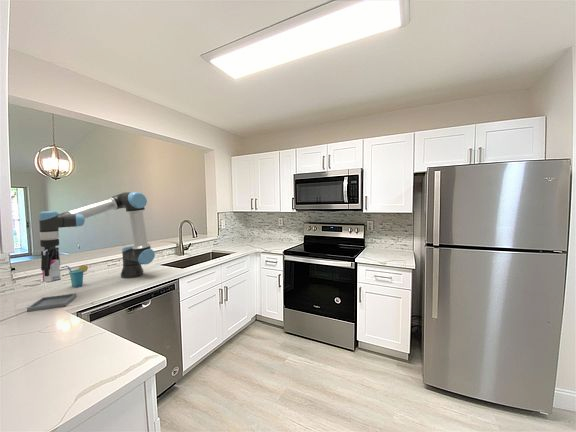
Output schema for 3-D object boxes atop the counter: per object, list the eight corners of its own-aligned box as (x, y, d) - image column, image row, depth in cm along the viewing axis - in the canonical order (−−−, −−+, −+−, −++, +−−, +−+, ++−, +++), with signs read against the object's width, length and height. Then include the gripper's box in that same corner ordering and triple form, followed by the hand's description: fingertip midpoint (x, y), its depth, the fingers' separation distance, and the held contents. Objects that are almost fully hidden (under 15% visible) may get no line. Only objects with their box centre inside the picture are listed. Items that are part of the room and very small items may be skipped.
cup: (61, 290, 158) (59, 267, 157) (62, 287, 164) (60, 265, 163) (88, 285, 166) (87, 264, 166) (88, 282, 172) (87, 262, 172)
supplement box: (56, 278, 140) (55, 258, 139) (61, 279, 137) (59, 259, 136) (42, 281, 134) (41, 261, 134) (47, 282, 132) (46, 262, 131)
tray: (76, 296, 147) (76, 293, 147) (65, 306, 133) (65, 302, 133) (42, 300, 141) (42, 297, 141) (27, 311, 126) (26, 308, 126)
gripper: (50, 237, 143) (52, 275, 144) (30, 242, 124) (32, 286, 125) (66, 236, 146) (68, 273, 147) (49, 241, 127) (51, 284, 128)
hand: (51, 279), depth 136 cm, fingers closed on supplement box, 8 cm apart
